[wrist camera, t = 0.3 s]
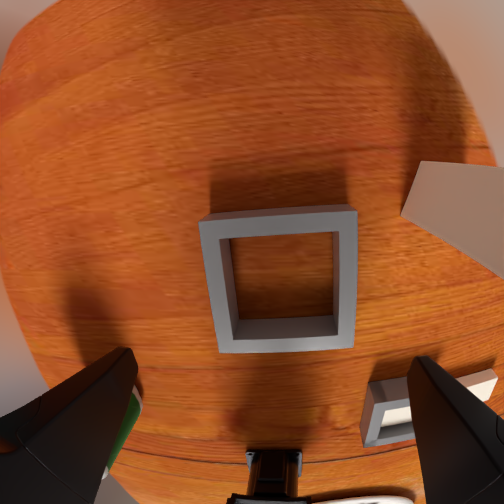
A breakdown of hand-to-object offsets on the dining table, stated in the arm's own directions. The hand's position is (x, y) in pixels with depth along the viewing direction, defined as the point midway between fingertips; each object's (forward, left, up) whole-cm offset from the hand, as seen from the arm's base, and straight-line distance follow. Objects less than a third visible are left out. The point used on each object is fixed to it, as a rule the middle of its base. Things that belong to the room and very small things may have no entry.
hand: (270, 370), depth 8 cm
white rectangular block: (+3, -12, -14) cm, 19 cm away
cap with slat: (-17, -15, -14) cm, 27 cm away
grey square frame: (-2, 0, -14) cm, 14 cm away
